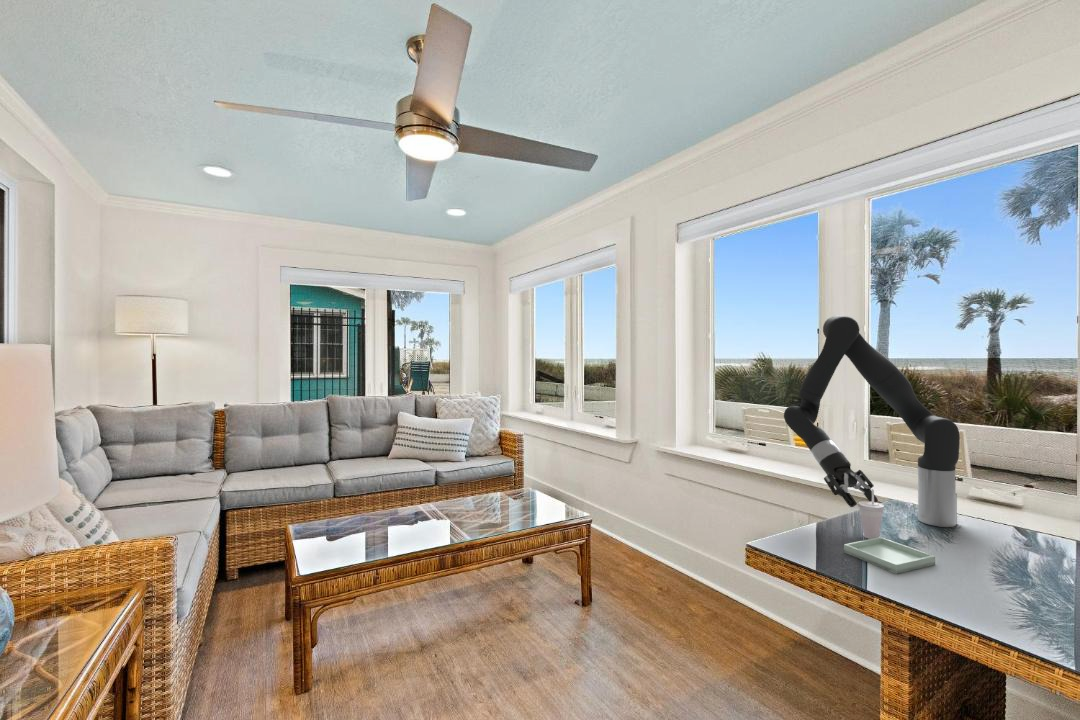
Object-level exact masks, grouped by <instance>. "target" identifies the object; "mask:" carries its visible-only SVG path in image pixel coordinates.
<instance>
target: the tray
mask: <svg viewBox="0 0 1080 720" xmlns="http://www.w3.org/2000/svg"><path fill="white" fill-rule="evenodd" d="M843 552H844V554H847V555H850V556H851V557H854V558H856V559H860V560H862V561H864V562H867V563H868V564H872V565H874V566H877V567H879V568H881V569H884V570H886V571H889V572H891V573H893V574H896V575H897V574H902V573H907V572H910V571H914V570H918V569H919V570H920V569H924V568H927V567H931V566H935V565H936V555H933V554H930V553H927V552H924V551H921V550H918V549H916V548H913V547H911V546H908V545H904V544H902V543H899V542H897V541H893V540H890V539H887V538H885V537H882V536H879V537H878V538H873V539H868V538H867V539H863V540H858V541H854V542H849V543H844V544H843Z"/></svg>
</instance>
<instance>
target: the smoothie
mask: <svg viewBox="0 0 1080 720" xmlns="http://www.w3.org/2000/svg"><path fill="white" fill-rule="evenodd" d="M871 491H872V502H871V501H869V500H861V501H858V502H857V507H858V508H859V513H860V521H861V527H862V528H861V529H862V533H863V537H864V538H866V539H867V540H868V539H873V538H878V537H880V532H881V525H882V519H883V512H884V510H885V505H884V504H882V503H880V502H874V495H875V488H874V489H873V488H871Z"/></svg>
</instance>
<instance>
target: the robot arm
mask: <svg viewBox="0 0 1080 720" xmlns="http://www.w3.org/2000/svg"><path fill="white" fill-rule="evenodd" d="M822 333H823V335H824V337H825V341H824V345H823V347H822V350H821V352H820V354H819V356H818V357H817V358H816V360H815V362H814V363H813V365H812V366H811V368H810V369H809V371H807V374H806V375H805V377H804V380H803V382H802V384H801V386H800V388H799V390H798V397H799V398H800V399H801V400H800V405H790V406H788V407H787V408H786V409H785V410H784V411H783V419H784V421H785V423H786V426H788V428H790V430H792V431H793V433H795V434H796V436H798V437H799V438H800V439H801V440H802V441H803V442H804V443H805V446H806V447H807V448H808V449H809V451H810V452H811V453H812V455H813V457H814V459H815V460H816V462H817V463H818V465H819V466H820V468H822V470H823V471H824V473H825V474H826V476H825V477H823V480H824V482H825V483H826V485H827V486H828V488H829V490H830V491H831V493H832V494H833V495H834V496H840V497H842V499H843V500H844V501H845V503H846V504H847V505H848V506H849V508H855V506H858V502H857V501H856V499H854V497H853V495H852V494H851V493H850V492H849V488H853V489H855V490H859V491H860V492H862V493H863V495H864V496H865V498H866V499H867V501H871V502H872V489H873V487H875V486H874V484H873V482H872V481H871V480H870V479H869V478H868V477H867V476H866V474H865V473H864V472H863V471H862V470H861V469H859V470H857V471H853V470H852V469H851V466H852V463H851V462H850V461H849V459H848V458H847V457H846V455H844V453H843V452H842V450H841V449H840V448H839V447H838V446H837V444H835V443H834V441H832V439H831V438H830V437H829V435H828V434H827V433H826V431H825V430H824V429H823V428H822V427H820V426H818V425H816V424H815V422H816V421H817V419H818V415H819V411H820V406H821V400H822V398H823V397H824V394H825V393H826V390H827V388H828V386H829V384H830V382H831V379H832V378H833V376H834V374H835V371H836V370H837V368H838V366H839V364H840V362H841V361H842V360H843V357H844V356H846V357H847V358H848V359H849V361H850V362H851V363H852V365H853V366H854V367H855V368H856V370H857V371H858V373H859V374H860V375H861V376H862V377H863V379H864V380H865V381H866V382H867V383H868V385H869V386H870V387H871V388H872V389H873V390H874V391H875V392H876V394H878V395H879V397H881V398H882V400H883V401H884V402H885V403H887V405H889V406H890V408H892V409H893V410H894V411H895V412H896V414H898V416H900V418H901V419H902V420H903V422H904V423H905V425H906V427H908V429H909V430H910V432H911V433H912V434H913V436H914V437H915V438H916V439H917V440H918V441H919V442H921V443H923V444H924V446H923V449H924V450H923V454H922V455H921V456H919V457H918V458H917V515H918V516H917V520H918V521H919V522H921V523H923V524H926V525H929V526H934V527H940V528H953V527H956V526H957V524H958V494H957V492H956V491H957V490H956V486H957V485H956V465H957V463H958V461H959V458H960V442H961V441H960V439H961V437H960V436H961V435H960V431H959V430H960V429H959V428H958V425H957V424H956V423H955V422H954V421H952V420H951V419H949V418H944V417H941V416H937V415H935V414H934V413H932V411H930V410H929V409H928V408H927V407H926V406H925V405H924V404H923V403H922V402H921V401H920V400H919V399H918V397H917V396H916V394H915V390H914V389H913V386H912V384H911V382H910V380H909V379H908V377H906V375H905V374H904V373H903V372H902V371H901V370H900V368H898V366H896V365H895V363H893V362H892V361H891V360H890V359H889V358H887V357H886V356H885V355H884V354H883V353H881V352H880V351H878V350H877V349H876V348H875V347H873V346H872V345H871V344H870V343H869V342H867V340H866V339H865V338H864V336H863V335H862V334H861V333H860V325H859V323H858V321H856V319H854V318H853V317H851V316H846V315H842V314H841V315H840V314H839V315H833V316H830V317H829V318H827V319H826V320H825V321H824V323H823V326H822ZM874 502H876V503H878V502H879V499H878V498H877V496H876V495H875V494H874Z"/></svg>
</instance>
